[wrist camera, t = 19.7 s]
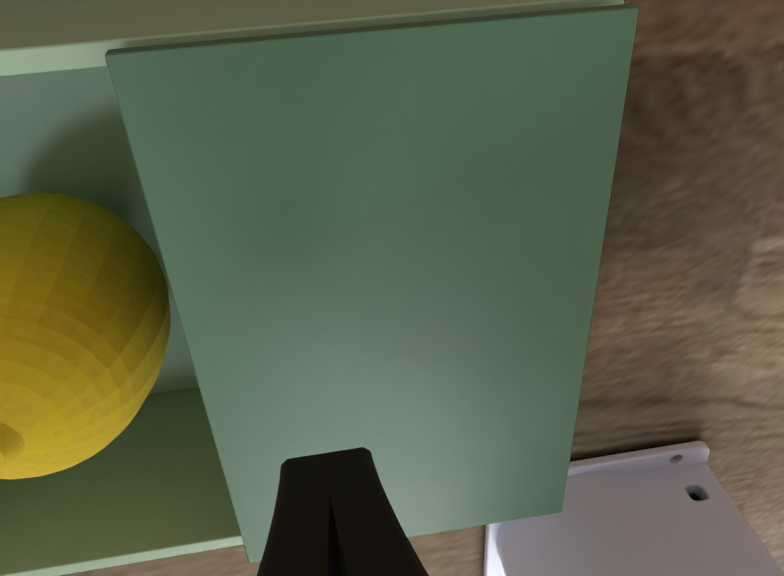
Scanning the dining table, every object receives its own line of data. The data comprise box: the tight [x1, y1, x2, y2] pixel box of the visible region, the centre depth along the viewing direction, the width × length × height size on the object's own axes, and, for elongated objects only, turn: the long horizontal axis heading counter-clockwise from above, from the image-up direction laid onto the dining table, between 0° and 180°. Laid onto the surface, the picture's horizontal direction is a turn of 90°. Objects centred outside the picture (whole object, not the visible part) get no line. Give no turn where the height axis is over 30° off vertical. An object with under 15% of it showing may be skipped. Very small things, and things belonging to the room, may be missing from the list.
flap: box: [105, 4, 639, 563], centre depth 14 cm, size 8×13×1 cm, turn 3°
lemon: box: [0, 192, 171, 480], centre depth 15 cm, size 6×6×8 cm
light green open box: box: [0, 0, 624, 576], centre depth 17 cm, size 17×13×6 cm
